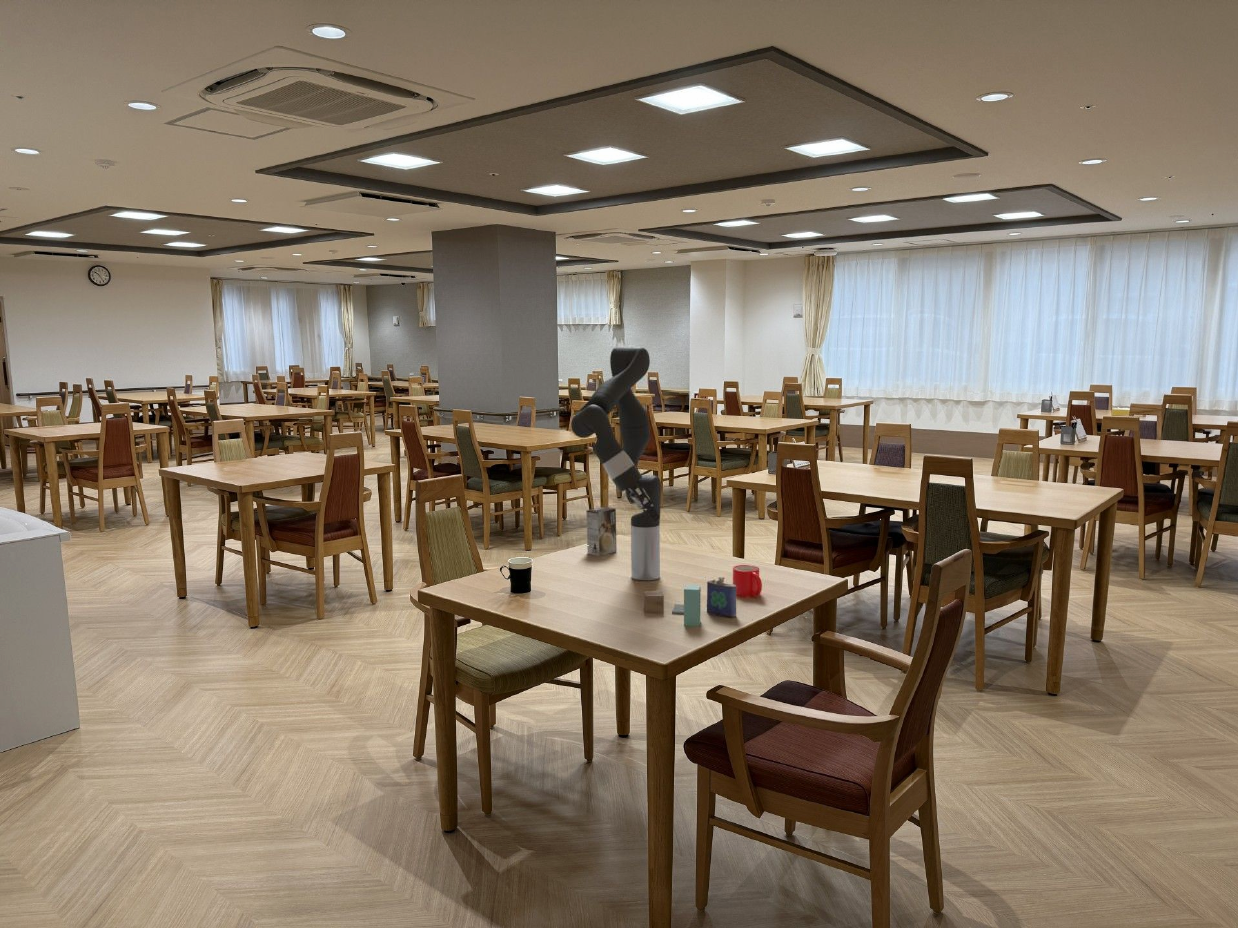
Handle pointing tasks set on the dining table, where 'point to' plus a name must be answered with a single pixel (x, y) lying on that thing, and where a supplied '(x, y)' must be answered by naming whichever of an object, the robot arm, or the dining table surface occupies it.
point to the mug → (747, 580)
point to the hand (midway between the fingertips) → (655, 519)
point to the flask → (721, 598)
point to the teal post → (692, 605)
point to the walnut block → (654, 602)
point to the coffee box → (601, 531)
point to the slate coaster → (678, 609)
